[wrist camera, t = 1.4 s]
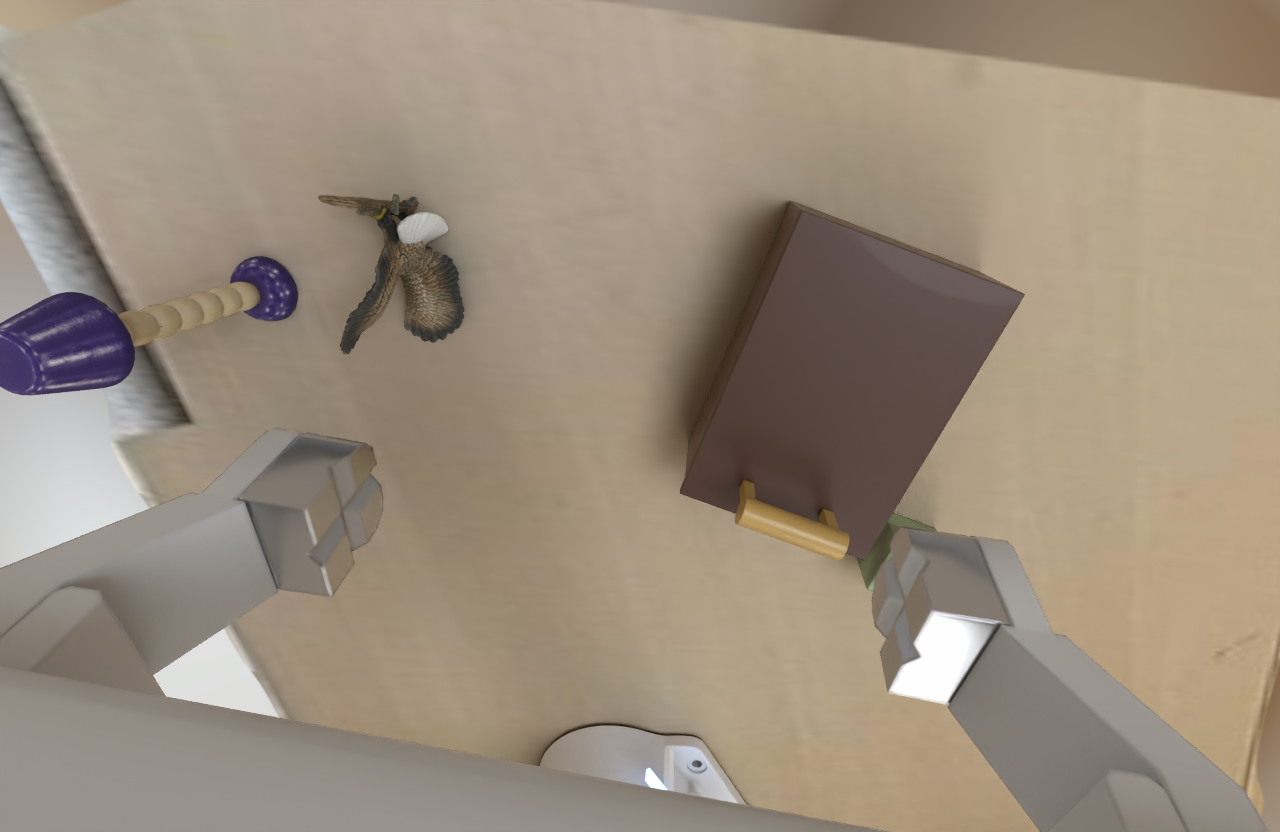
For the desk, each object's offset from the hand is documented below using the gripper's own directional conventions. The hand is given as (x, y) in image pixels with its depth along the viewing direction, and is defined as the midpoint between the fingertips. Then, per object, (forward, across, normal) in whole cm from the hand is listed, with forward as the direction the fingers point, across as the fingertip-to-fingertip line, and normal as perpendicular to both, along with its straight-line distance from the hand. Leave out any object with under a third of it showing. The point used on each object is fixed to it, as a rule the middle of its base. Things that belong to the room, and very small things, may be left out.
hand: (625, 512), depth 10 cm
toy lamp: (+29, -28, -13) cm, 42 cm away
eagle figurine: (+30, -17, -10) cm, 36 cm away
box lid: (+24, +9, -12) cm, 28 cm away
